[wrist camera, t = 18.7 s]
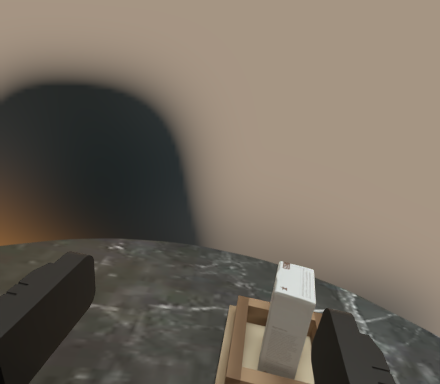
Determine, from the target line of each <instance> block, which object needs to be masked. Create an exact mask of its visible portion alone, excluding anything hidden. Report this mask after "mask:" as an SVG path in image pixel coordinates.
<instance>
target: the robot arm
mask: <svg viewBox="0 0 440 384" xmlns="http://www.w3.org/2000/svg"><path fill="white" fill-rule="evenodd" d="M94 296H95V272H94V259H93V257H92V256H90V255H86V254H81V253H77V252H72V251H70V252H67V253H66V254H64V255H63V256H62V257H61V258H60V259H58V260H57V261H56V262H55V263H48V264H46V265H44V266H42V267H40V268H37V269H35V270H33V271H32V272H30V273H29V274H28V275H27V276H25V277H24V278H23V279H22V280H20V281H19V283H18V284H15V285H14V286H13V287H12V288H10V289H9V290H8V291H7V293H6V294H3V295H2V296H0V384H29V382H30V381H31V380H32V379H33V377H34V376H35V375H36V374H37V372H38V371H39V370H40V369H41V367H42V366H43V365H44V364H45V362H46V361H47V360H48V359H49V357H50V356H51V355H52V354H53V352H54V351H55V350H56V349H57V347H58V346H59V345H60V344H61V342H62V341H63V340H64V338H65V337H66V336H67V335H68V333H69V332H70V331H71V330H72V328H73V327H74V326H75V325H76V323H77V322H78V321H79V320H80V318H81V317H82V316H83V315H84V313H85V312H86V311H87V310H88V308H89V307H90V305H91V303H92V301H93V299H94ZM311 363H312V370H313V376H314V383H315V384H395V381H394V379H393V377H392V374H390V370H389V367H388V365H387V363H386V360H385V358H384V355H383V353H382V351H381V350H380V349H379V348H378V346H377V345H376V344H375V343H374V341H373V340H372V339H371V338H370V336H369V335H365V334H361V333H359V330H358V327H357V324H356V322H355V319H354V317H353V315H352V314H351V313H347V312H342V311H338V310H333V309H329V308H326V309H325V310H324V312H323V314H322V317H321V320H320V323H319V325H318V328H317V331H316V334H315V336H314V339H313V342H312V347H311Z"/></svg>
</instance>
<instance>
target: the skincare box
mask: <svg viewBox="0 0 440 384" xmlns="http://www.w3.org/2000/svg"><path fill="white" fill-rule="evenodd" d="M315 305H316V298H315V280H314V270H312V269H309V268H306V267H302V266H298V265H294V264H290V263H286V262H282V261H281V262H279V265H278V270H277V274H276V279H275V284H274V288H273V293H272V298H271V303H270V308H269V313H268V317H267V322H266V327H265V331H264V336H263V341H262V346H261V352H260V357H259V363H258V368H257V371H261V372H265V373H269V374H273V375H277V376H281V377H285V378H289V379H293V380H294V379H295V376H296V372H297V368H298V365H299V361H300V358H301V354H302V351H303V347H304V344H305V340H306V337H307V333H308V329H309V326H310V322H311V318H312V314H313V311H314V308H315Z"/></svg>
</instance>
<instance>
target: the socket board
mask: <svg viewBox="0 0 440 384" xmlns="http://www.w3.org/2000/svg"><path fill="white" fill-rule="evenodd" d="M270 303H271V302H266V301H262V300H257V299H253V298H248V297H243V296H238V302H237V307H236V306H232V305H230V307H229V313H228V318H227V323H226V328H225V334H224V339H223V344H222V349H221V355H220V360H219V365H218V370H217V376H216V381H215V384H315V383H314V376H313V370H312V363H311V347H312V342H313V339H314V336H315V334H316V331H317V328H318V325H319V323H320V320H321V317H322V314H321V313H316V312H313V314H312V318H311V322H310V326H309V329H308V333H307V337H306V340H305V344H304V347H303V351H302V354H301V358H300V361H299V365H298V368H297V372H296V376H295V379H294V380H293V379H289V378H285V377H281V376H277V375H273V374H269V373H265V372H261V371H257V368H258V363H259V357H260V352H261V346H262V341H263V336H264V331H265V327H266V322H267V317H268V313H269V308H270Z"/></svg>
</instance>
